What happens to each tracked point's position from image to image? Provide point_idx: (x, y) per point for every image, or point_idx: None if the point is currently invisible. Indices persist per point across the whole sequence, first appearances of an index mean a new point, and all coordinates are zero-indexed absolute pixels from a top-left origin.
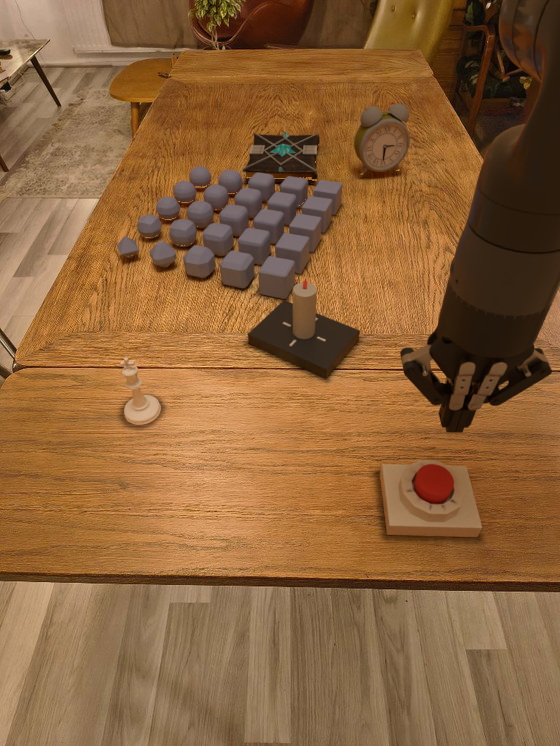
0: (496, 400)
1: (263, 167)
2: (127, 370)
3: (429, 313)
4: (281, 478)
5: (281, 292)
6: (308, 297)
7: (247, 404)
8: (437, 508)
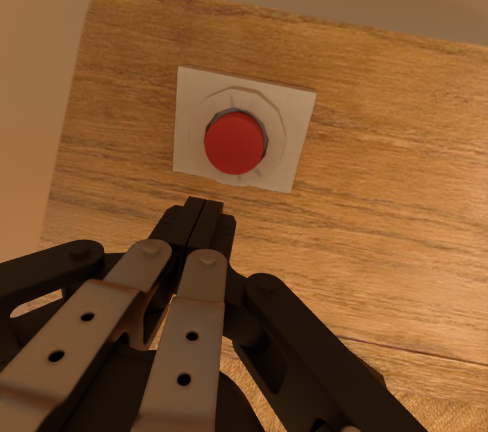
0: (78, 256)
1: None
2: None
3: None
4: (425, 200)
5: None
6: None
7: (421, 306)
8: (242, 100)
